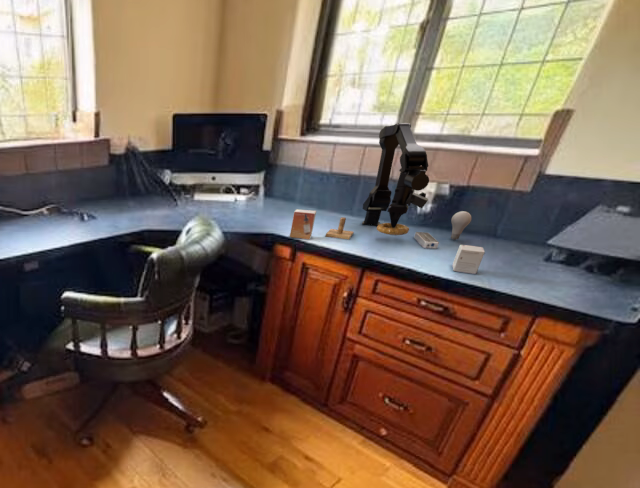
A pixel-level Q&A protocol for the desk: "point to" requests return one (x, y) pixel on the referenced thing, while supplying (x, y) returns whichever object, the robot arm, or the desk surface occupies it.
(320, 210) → the desk surface
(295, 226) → the small box
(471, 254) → the product box
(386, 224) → the ring
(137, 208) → the desk surface
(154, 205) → the desk surface
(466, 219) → the lightbulb
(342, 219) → the peg stand
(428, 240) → the multiport hub
